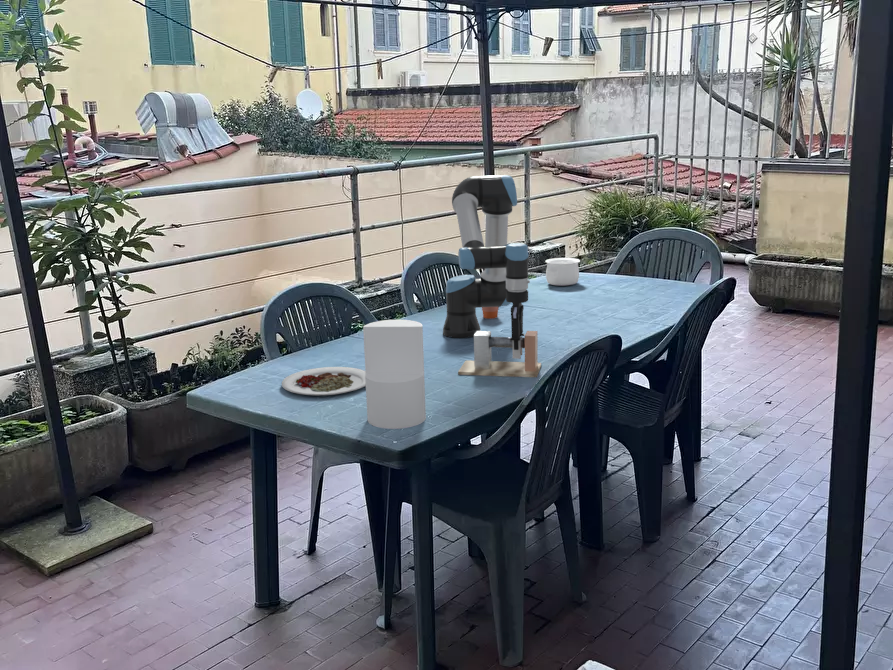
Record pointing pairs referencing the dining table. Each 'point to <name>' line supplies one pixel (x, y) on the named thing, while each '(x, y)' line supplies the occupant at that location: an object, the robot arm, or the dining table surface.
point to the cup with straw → (490, 312)
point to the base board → (499, 369)
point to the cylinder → (394, 373)
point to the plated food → (325, 381)
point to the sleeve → (482, 350)
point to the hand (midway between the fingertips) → (517, 356)
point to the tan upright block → (531, 350)
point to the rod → (503, 342)
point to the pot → (562, 271)
